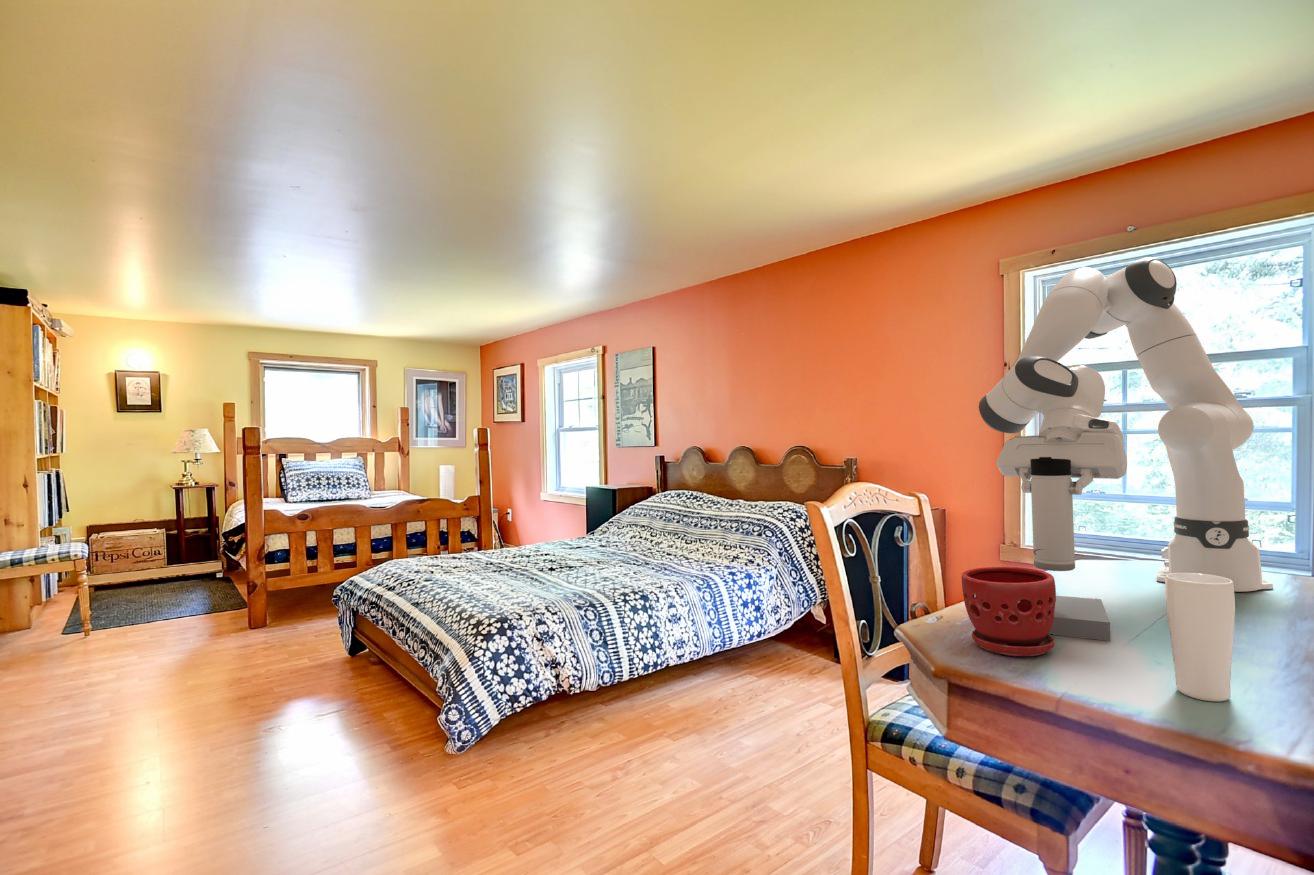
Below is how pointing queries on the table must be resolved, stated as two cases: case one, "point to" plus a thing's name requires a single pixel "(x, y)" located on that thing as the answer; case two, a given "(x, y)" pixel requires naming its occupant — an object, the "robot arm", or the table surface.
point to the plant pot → (1010, 609)
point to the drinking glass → (1201, 633)
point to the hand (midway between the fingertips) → (1050, 491)
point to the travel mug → (1052, 514)
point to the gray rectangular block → (1080, 618)
